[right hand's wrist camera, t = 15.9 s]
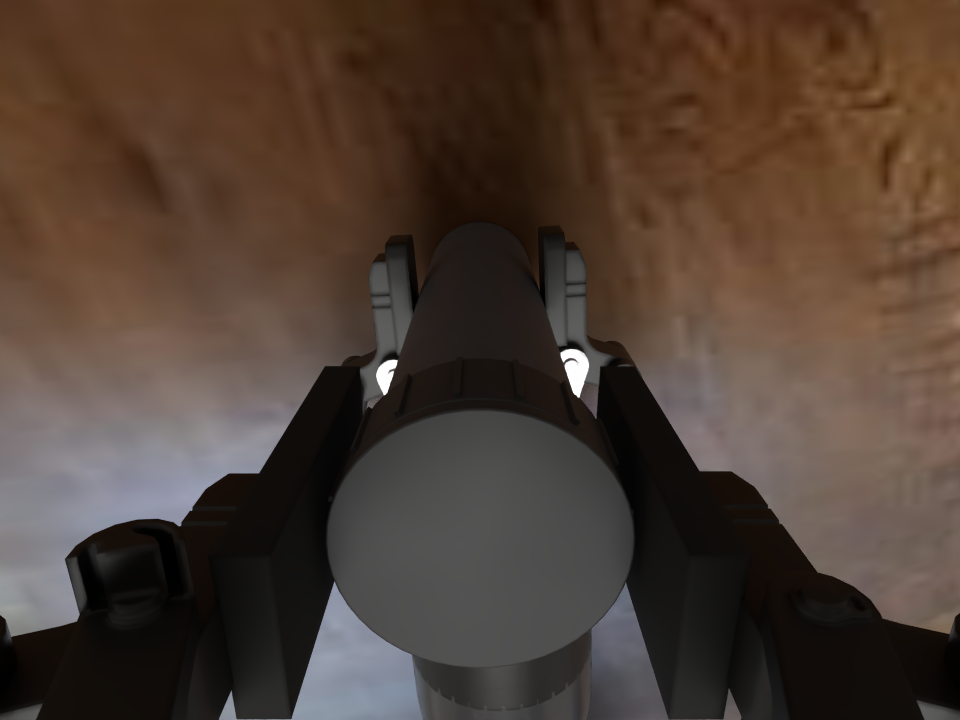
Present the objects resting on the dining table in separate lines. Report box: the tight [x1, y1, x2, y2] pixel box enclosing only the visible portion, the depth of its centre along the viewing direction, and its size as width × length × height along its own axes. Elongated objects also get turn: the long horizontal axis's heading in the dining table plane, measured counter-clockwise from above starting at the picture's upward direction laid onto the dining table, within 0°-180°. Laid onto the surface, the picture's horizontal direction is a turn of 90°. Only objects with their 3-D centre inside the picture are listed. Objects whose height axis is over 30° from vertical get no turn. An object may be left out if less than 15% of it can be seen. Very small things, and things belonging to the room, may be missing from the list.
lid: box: [325, 356, 635, 668], centre depth 11 cm, size 5×5×2 cm
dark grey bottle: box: [387, 222, 574, 393], centre depth 20 cm, size 4×4×19 cm
